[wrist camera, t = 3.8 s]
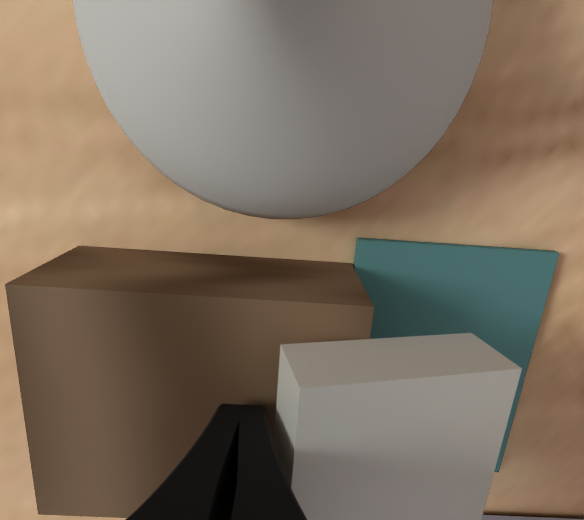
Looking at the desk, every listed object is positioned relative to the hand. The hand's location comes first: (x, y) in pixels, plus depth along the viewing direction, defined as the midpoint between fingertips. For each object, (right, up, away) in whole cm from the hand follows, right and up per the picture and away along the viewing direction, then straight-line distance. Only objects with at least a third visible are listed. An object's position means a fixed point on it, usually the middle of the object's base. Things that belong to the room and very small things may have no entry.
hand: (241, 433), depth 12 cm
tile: (+4, 0, +1) cm, 4 cm away
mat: (+7, +1, +5) cm, 9 cm away
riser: (-2, +1, +4) cm, 5 cm away
